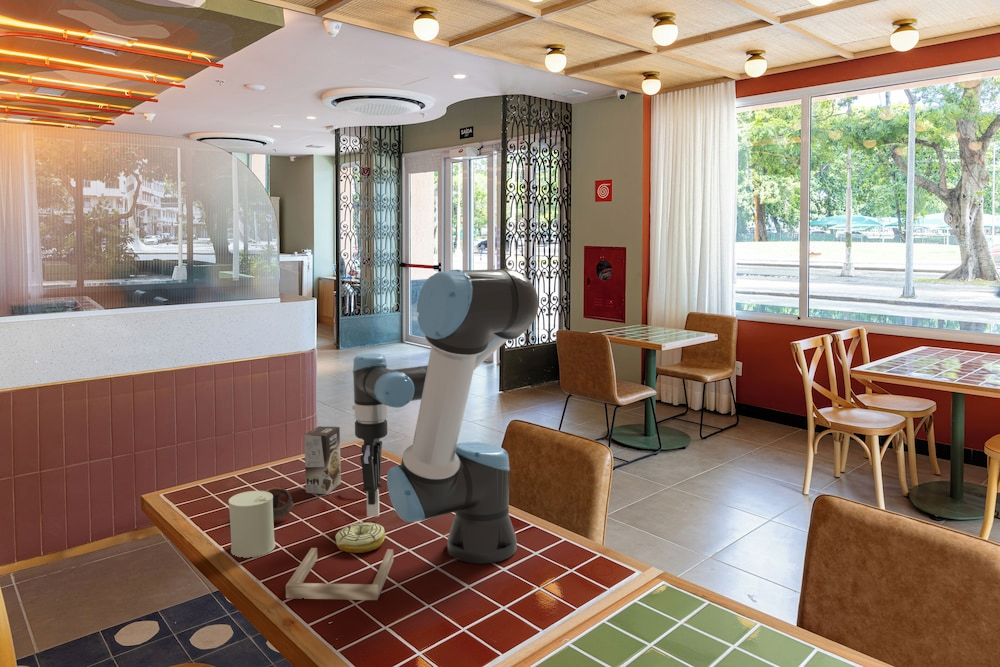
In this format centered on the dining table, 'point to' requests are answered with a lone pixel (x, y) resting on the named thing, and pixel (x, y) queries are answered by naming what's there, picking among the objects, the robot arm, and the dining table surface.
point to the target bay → (336, 590)
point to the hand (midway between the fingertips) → (373, 515)
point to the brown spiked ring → (280, 502)
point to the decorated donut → (360, 537)
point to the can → (251, 524)
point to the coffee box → (322, 460)
